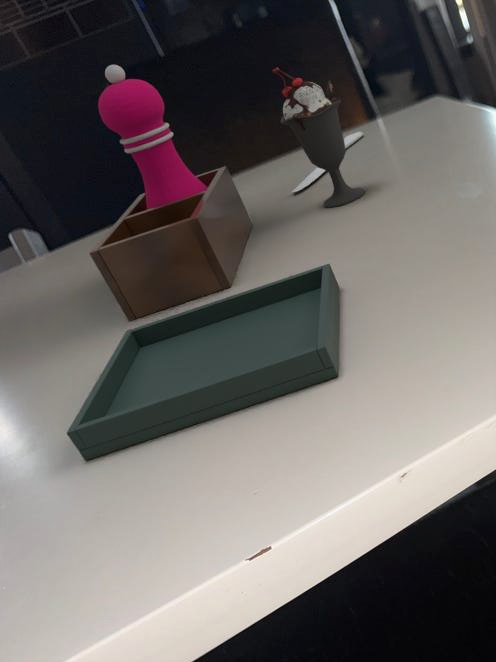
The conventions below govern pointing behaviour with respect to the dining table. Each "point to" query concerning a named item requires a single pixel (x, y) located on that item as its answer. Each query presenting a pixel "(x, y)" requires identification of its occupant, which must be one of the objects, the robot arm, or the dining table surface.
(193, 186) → the pepper mill
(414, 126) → the dining table surface
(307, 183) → the butter knife
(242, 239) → the divided box
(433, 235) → the dining table surface
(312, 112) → the sundae
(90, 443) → the tray
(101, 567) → the dining table surface
